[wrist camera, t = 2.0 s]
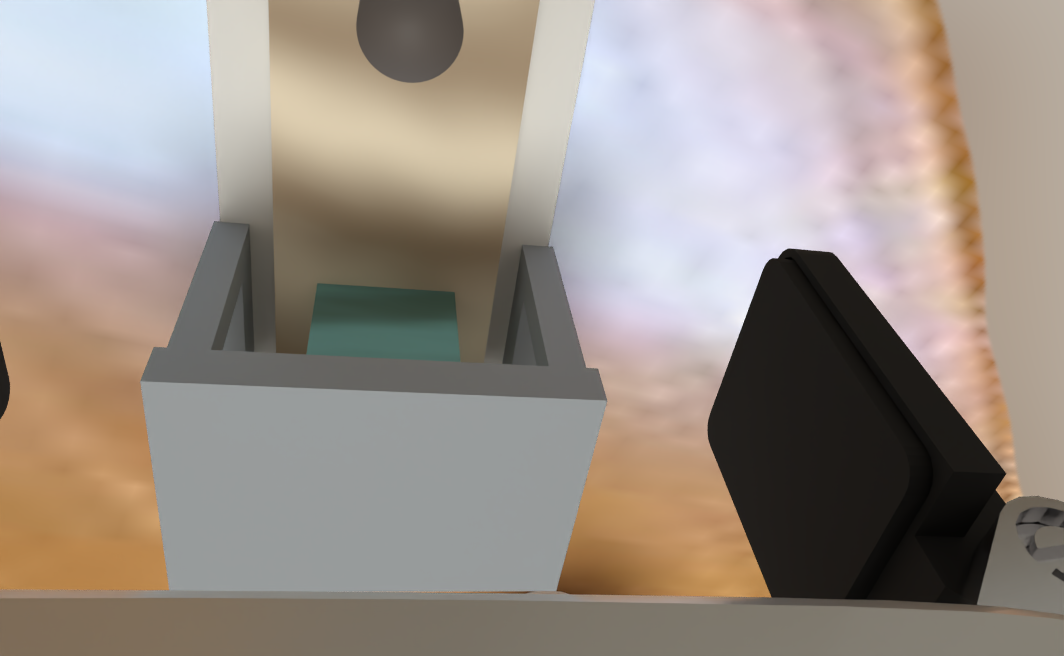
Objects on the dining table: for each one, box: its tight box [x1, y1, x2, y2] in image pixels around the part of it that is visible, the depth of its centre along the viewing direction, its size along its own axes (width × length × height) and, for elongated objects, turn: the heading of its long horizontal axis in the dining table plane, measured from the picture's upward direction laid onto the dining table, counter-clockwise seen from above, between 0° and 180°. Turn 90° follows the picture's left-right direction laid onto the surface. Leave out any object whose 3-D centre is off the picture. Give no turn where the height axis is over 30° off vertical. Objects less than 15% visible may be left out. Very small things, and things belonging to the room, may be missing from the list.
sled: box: [268, 0, 540, 363], centre depth 27 cm, size 21×8×8 cm, turn 171°
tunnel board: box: [140, 0, 607, 592], centre depth 26 cm, size 38×13×11 cm, turn 171°
